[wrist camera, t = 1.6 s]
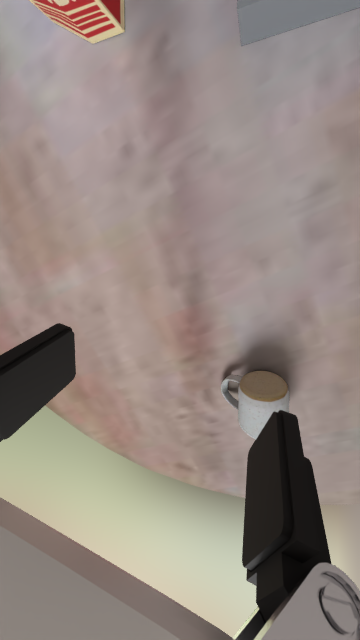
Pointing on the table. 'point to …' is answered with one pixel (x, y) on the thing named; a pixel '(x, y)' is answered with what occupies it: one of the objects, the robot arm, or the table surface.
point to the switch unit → (284, 15)
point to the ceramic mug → (257, 399)
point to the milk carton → (86, 17)
